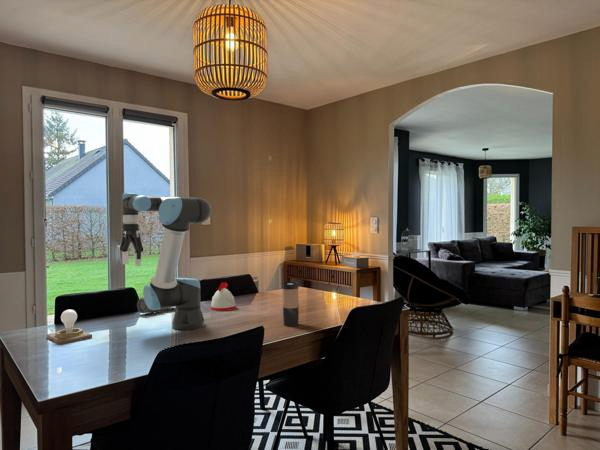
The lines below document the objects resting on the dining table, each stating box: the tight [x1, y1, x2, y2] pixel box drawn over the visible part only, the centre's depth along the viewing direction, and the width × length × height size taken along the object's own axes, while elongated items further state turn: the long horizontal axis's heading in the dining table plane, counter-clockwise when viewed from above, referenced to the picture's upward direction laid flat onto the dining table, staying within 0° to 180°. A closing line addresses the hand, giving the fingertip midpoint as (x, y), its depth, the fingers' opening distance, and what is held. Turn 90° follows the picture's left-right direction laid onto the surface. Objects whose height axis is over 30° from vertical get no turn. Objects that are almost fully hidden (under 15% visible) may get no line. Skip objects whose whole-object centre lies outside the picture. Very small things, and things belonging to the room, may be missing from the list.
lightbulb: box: [60, 309, 78, 333], centre depth 186 cm, size 6×6×11 cm
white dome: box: [210, 281, 236, 312], centre depth 244 cm, size 14×14×15 cm
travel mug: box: [282, 281, 300, 327], centre depth 204 cm, size 8×8×20 cm
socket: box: [46, 327, 93, 346], centre depth 186 cm, size 16×13×3 cm
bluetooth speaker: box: [136, 296, 172, 314], centre depth 239 cm, size 23×9×10 cm, turn 148°
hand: (131, 264), depth 217 cm, fingers open, 13 cm apart
